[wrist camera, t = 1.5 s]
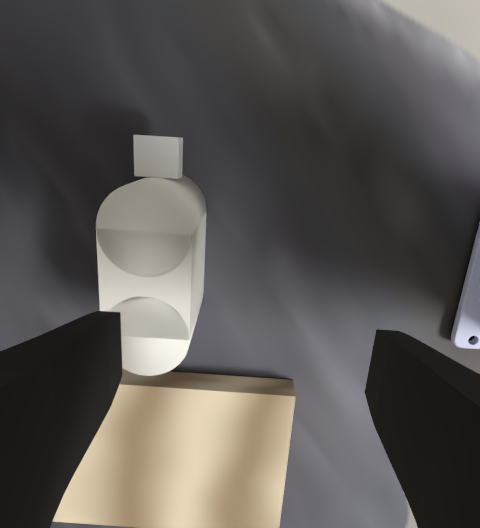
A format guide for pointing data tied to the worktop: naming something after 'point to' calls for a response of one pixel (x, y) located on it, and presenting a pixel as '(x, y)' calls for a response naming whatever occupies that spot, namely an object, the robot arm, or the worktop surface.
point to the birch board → (186, 454)
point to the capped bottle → (153, 257)
